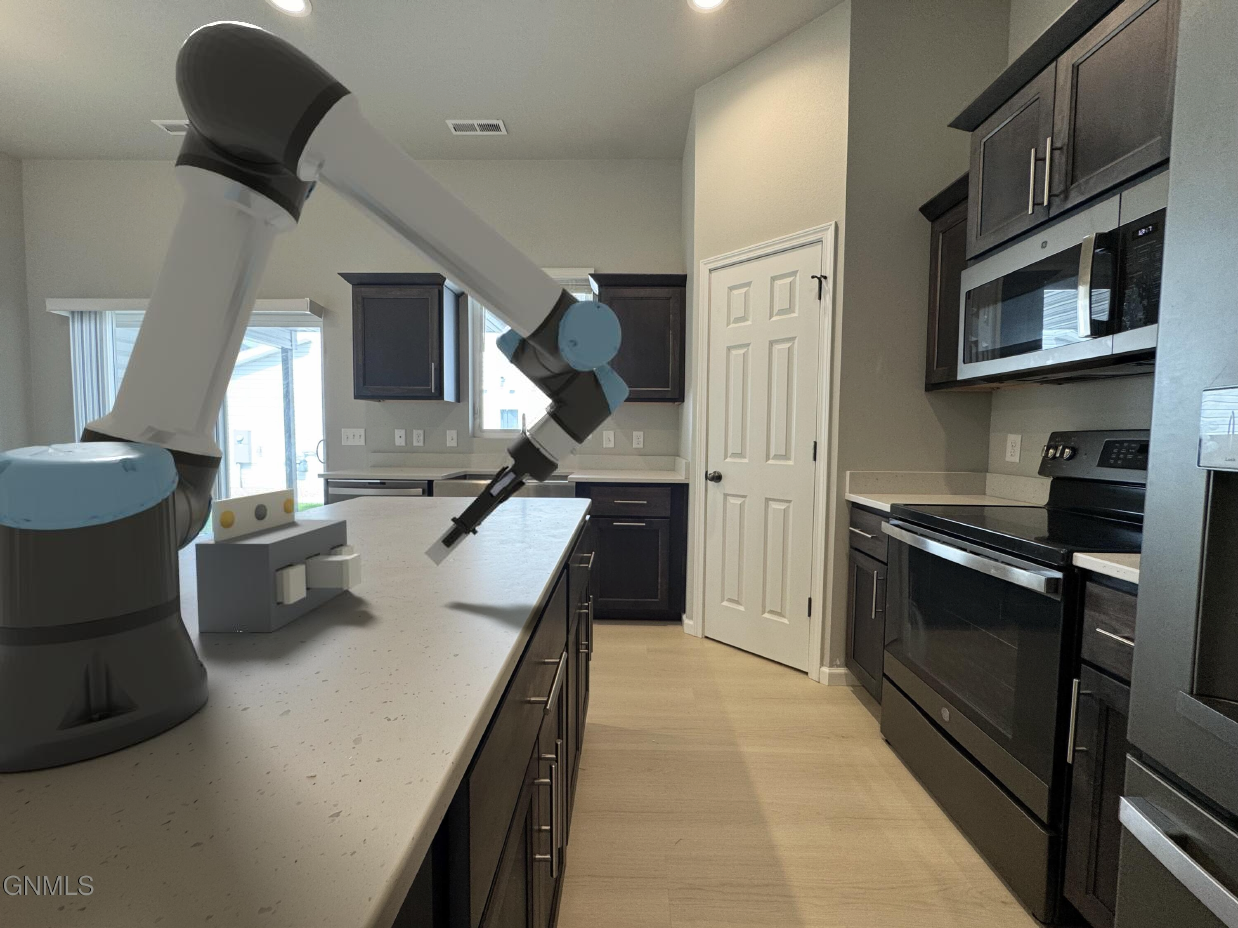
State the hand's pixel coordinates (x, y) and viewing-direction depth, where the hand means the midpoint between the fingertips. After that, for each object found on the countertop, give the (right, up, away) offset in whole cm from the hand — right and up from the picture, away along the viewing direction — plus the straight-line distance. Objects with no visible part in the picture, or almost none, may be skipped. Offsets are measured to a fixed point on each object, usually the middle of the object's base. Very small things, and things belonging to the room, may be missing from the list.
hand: (432, 558), depth 84 cm
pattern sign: (-22, +5, -7) cm, 23 cm away
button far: (-17, -3, 0) cm, 17 cm away
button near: (-17, -3, -13) cm, 21 cm away
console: (-19, -6, -6) cm, 21 cm away
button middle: (-13, -3, -6) cm, 14 cm away
